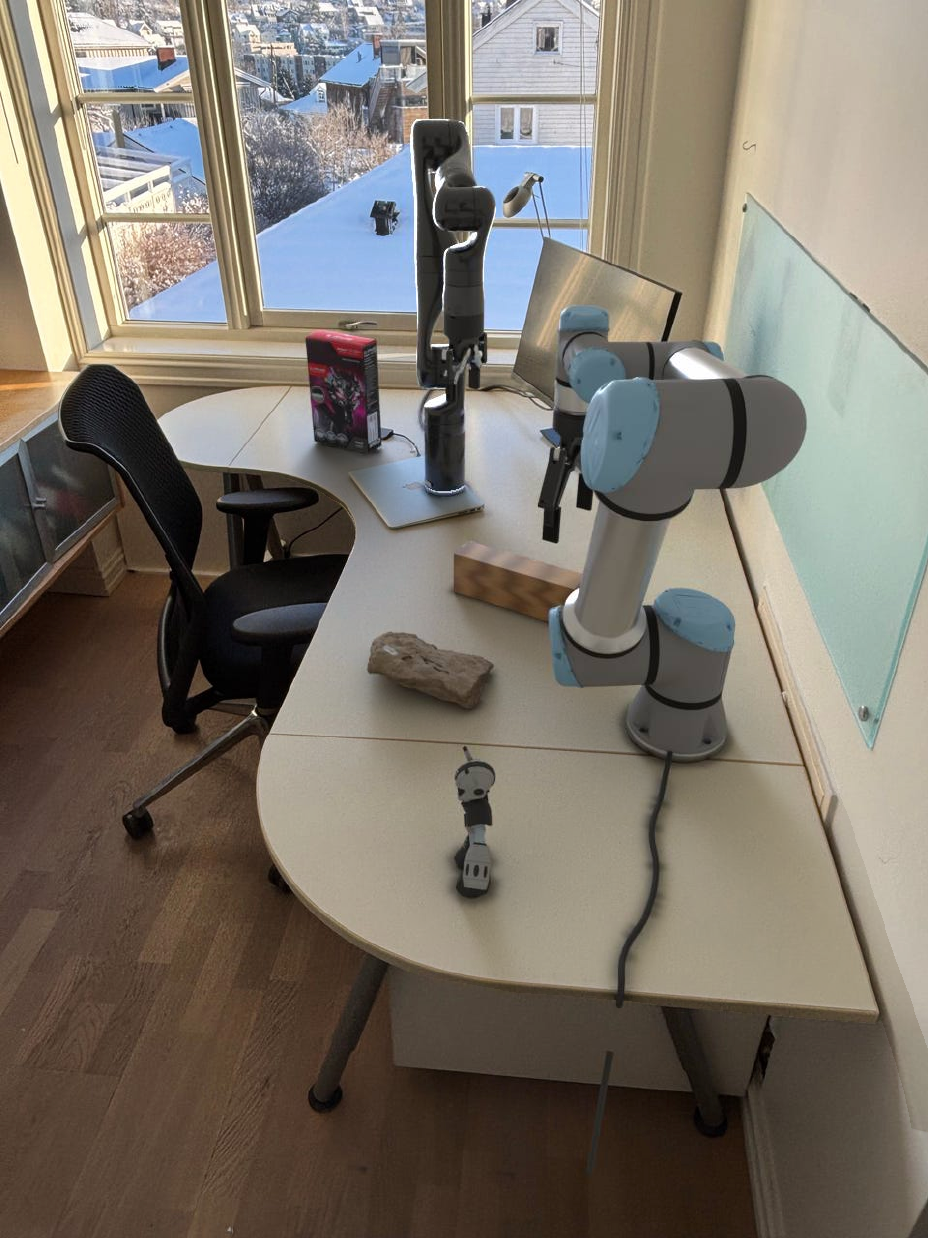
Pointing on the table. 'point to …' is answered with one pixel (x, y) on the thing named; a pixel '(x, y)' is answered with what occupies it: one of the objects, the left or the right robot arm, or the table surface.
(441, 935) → the table surface
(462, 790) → the robot
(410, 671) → the stone
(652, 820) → the right robot arm
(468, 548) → the box
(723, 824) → the table surface
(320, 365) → the graphics card box
